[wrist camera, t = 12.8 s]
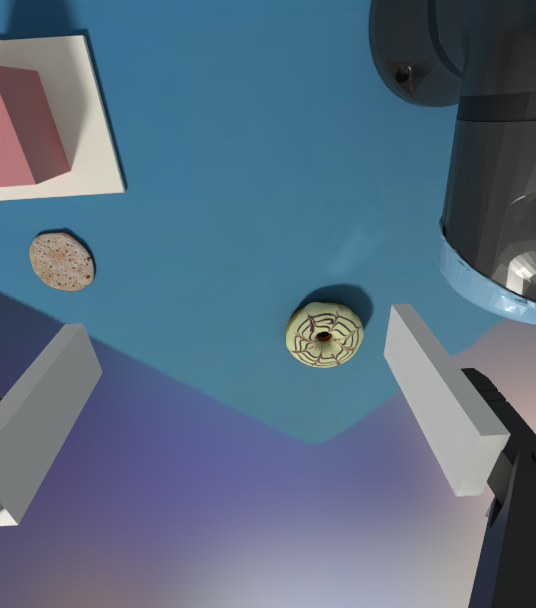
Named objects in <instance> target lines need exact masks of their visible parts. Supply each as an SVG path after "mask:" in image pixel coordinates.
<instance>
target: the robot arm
mask: <svg viewBox="0 0 536 608" xmlns="http://www.w3.org/2000/svg"><path fill="white" fill-rule="evenodd" d="M369 42H370V49H371V54H372V57H373V61H374V64H375V67H376V69H377V71H378V73H379V75H380V77H381V79H382V80H383V82H384V83H385V84H386V86H387V87H388V88H389V89H390V90H391V91H392V92H393V93H394V94H395V95H397V96H398V97H399V98H401V99H403V100H404V101H406V102H409V103H411V104H414V105H418V106H426V107H445V106H451V105H456V104H459V106H458V113H457V117H456V125H455V132H454V139H453V147H452V154H451V160H450V167H449V174H448V181H447V187H446V194H445V201H444V207H443V214H442V216H441V219H440V221H439V233H440V236H441V238H440V250H439V264H440V268H441V271H442V273H443V274H444V275H445V276H446V279H447V280H448V283H449V284H450V285H451V286H452V287H453V288H454V289H455V290H456V291H457V292H458V293H459V294H460V295H462V296H463V297H465V298H466V299H467V300H469V301H471V302H472V303H474V304H476V305H478V306H479V307H481V308H483V309H486V310H488V311H490V312H492V313H495V314H497V315H500V316H503V317H506V318H509V319H513V320H516V321H521V322H525V323H530V324H536V0H372V1H371V7H370V14H369ZM384 356H385V358H386V360H387V362H388V364H389V366H390V368H391V370H392V372H393V374H394V376H395V378H396V380H397V382H398V384H399V386H400V388H401V390H402V392H403V393H404V395H405V397H406V399H407V401H408V403H409V405H410V407H411V409H412V411H413V413H414V415H415V417H416V419H417V421H418V423H419V425H420V427H421V429H422V431H423V432H424V434H425V436H426V438H427V440H428V442H429V444H430V446H431V448H432V450H433V452H434V454H435V456H436V458H437V460H438V462H439V464H440V466H441V468H442V470H443V471H444V474H445V476H446V477H447V479H448V481H449V483H450V485H451V487H452V489H453V491H454V493H455V495H456V496H471V495H482V493H483V491H484V489H485V486H486V485H487V483H488V485H489V486H490V488H491V490H492V491H493V493H494V495H495V497H494V499H493V501H492V503H491V505H490V507H489V509H488V511H487V513H486V515H485V516H486V517H488V523H487V527H486V532H485V536H484V540H483V545H482V549H481V553H480V558H479V562H478V567H477V571H476V576H475V580H474V585H473V589H472V593H471V598H470V602H469V606H468V608H536V434H535V433H534V432H533V431H532V429H531V428H530V427H529V426H528V425H527V423H526V422H525V421H524V420H523V419H522V418H521V416H520V415H519V414H518V413H517V412H516V410H515V409H514V408H513V407H512V406H511V405H510V403H509V402H506V399H505V397H504V396H503V395H502V394H501V393H500V392H498V389H497V388H496V387H495V386H494V384H493V383H492V382H491V381H490V380H489V379H488V378H487V377H486V376H485V375H483V374H482V373H480V372H479V371H477V370H476V369H474V368H465V369H460V368H459V367H458V365H457V364H456V363H455V361H454V360H453V359H452V358H451V356H450V355H449V354H448V352H447V351H446V350H445V348H444V347H443V346H442V345H441V343H440V342H439V341H438V339H437V338H436V337H435V335H434V334H433V333H432V332H431V330H430V329H429V328H428V326H427V325H426V324H425V322H424V321H423V320H422V319H421V317H420V316H419V315H418V313H417V312H416V311H415V309H414V308H413V307H412V306H411V304H410V303H409V304H392V307H391V313H390V320H389V326H388V332H387V338H386V344H385V351H384ZM101 374H102V370H101V367H100V365H99V362H98V360H97V357H96V354H95V352H94V350H93V347H92V345H91V342H90V339H89V337H88V334H87V332H86V329H85V327H84V324H83V323H79V324H65V325H64V326H63V327H62V329H61V330H60V331H59V332H58V333H57V335H56V336H55V337H54V338H53V339H52V341H51V342H50V343H49V344H48V345H47V346H46V348H45V349H44V350H43V351H42V353H41V354H40V355H39V356H38V357H37V359H36V360H35V361H34V362H33V363H32V365H31V366H30V367H29V368H28V369H27V370H26V371H25V373H24V374H23V375H22V376H21V378H20V379H19V380H18V381H17V382H16V383H15V385H14V386H13V387H12V388H11V389H10V391H9V392H8V393H7V394H6V395H5V396H4V398H0V526H8V525H18V524H19V522H20V520H21V519H22V517H23V515H24V513H25V512H26V510H27V508H28V506H29V504H30V502H31V501H32V499H33V497H34V495H35V493H36V491H37V490H38V488H39V486H40V484H41V482H42V481H43V479H44V477H45V475H46V473H47V472H48V470H49V468H50V466H51V464H52V463H53V461H54V459H55V457H56V456H57V454H58V452H59V450H60V448H61V447H62V445H63V443H64V441H65V439H66V437H67V436H68V434H69V432H70V430H71V428H72V427H73V425H74V423H75V421H76V419H77V418H78V416H79V414H80V412H81V410H82V409H83V407H84V405H85V403H86V401H87V400H88V398H89V396H90V394H91V392H92V390H93V389H94V387H95V385H96V383H97V382H98V380H99V378H100V376H101Z"/></svg>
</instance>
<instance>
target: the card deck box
mask: <svg viewBox="0 0 536 608" xmlns="http://www.w3.org/2000/svg"><path fill="white" fill-rule="evenodd" d="M70 171H71V170H70V167H69V164H68V161H67V158H66V155H65V152H64V149H63V146H62V143H61V140H60V137H59V134H58V131H57V128H56V125H55V122H54V119H53V116H52V113H51V110H50V107H49V104H48V101H47V98H46V95H45V92H44V89H43V86H42V83H41V80H40V77H39V74H38V71H34V70H27V69H20V68H12V67H5V66H0V187H10V186H24V185H36V184H39V183H42V182H44V181H47V180H49V179H52V178H54V177H57V176H59V175H62V174H65V173H67V172H70Z"/></svg>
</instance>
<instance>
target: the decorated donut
mask: <svg viewBox="0 0 536 608" xmlns="http://www.w3.org/2000/svg"><path fill="white" fill-rule="evenodd" d="M324 331H326V332H328V333H331V334H329V335H328V336H326V337H319V336H316V335H317V334H318V333H320V332H324ZM363 336H364V331H363V327H362V324H361V321H360V319H359V317H358V316H357V315H355V314H354V313H353V312H352V311H351V310H350V309H349V308H348V307H346V306H343V305H341V304H338V303H327V302H326V303H320V302H312V303H310V304H308V305H307V306H306V307H304V308H302V309H301V310H299V311H298V312H296V313H295V314H294V315H293V317H291V319H290V320H289V322H288V325H287V331H286V341H287V342H286V344H287V345H286V346H287V348H288V349H289V350H290V352H291V353H292V354H293V356H295V357H296V358H297V359H298V360H300V361H301V362H303V363H305V364H307V365H310V366H313V367H314V366H315V367H326V368H328V367H333V366H336V365H339V364H342V363H343V362H345V361H348V360H349V359H350V358H351V357H352V356H353V355H354V354H355V353H356V352H357V350H358V348H359V346H360V344H361V342H362V340H363Z"/></svg>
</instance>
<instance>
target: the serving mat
mask: <svg viewBox="0 0 536 608" xmlns="http://www.w3.org/2000/svg"><path fill="white" fill-rule="evenodd" d="M0 66H5V67H12V68H20V69H27V70H34V71H38V74H39V77H40V80H41V83H42V86H43V89H44V92H45V95H46V98H47V101H48V104H49V107H50V110H51V113H52V116H53V119H54V122H55V125H56V128H57V131H58V134H59V137H60V140H61V143H62V146H63V149H64V152H65V155H66V158H67V161H68V164H69V167H70V170H71V171H70V172H67V173H65V174H62V175H59V176H57V177H54V178H52V179H49V180H47V181H44V182H42V183H39V184H36V185H24V186H10V187H0V200H14V199H29V198H44V197H59V196H74V195H89V194H104V193H119V192H125V191H126V190H125V186H124V182H123V179H122V175H121V171H120V167H119V163H118V160H117V156H116V152H115V148H114V144H113V140H112V137H111V133H110V129H109V125H108V121H107V118H106V114H105V110H104V106H103V102H102V99H101V95H100V91H99V87H98V83H97V79H96V76H95V72H94V68H93V64H92V60H91V57H90V53H89V49H88V45H87V41H86V38H85V36H83V35H80V36H64V37H48V38H32V39H16V40H0Z"/></svg>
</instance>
